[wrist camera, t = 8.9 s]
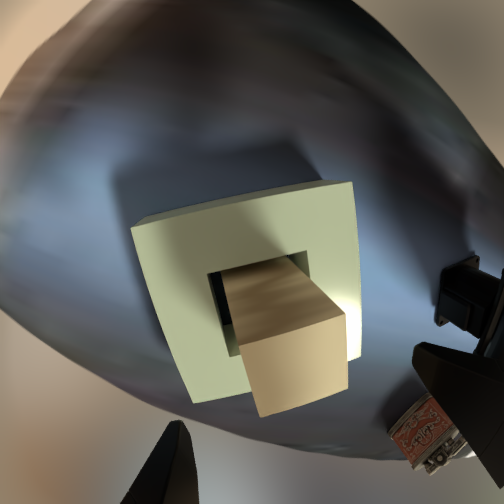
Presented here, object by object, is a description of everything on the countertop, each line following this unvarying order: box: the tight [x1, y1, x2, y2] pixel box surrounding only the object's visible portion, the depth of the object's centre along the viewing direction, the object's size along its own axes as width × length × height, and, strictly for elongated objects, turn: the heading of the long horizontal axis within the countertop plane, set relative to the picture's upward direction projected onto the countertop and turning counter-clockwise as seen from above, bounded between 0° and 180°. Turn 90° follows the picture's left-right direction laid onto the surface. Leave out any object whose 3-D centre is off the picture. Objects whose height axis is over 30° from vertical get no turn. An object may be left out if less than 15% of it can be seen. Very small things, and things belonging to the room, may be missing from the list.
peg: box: [221, 255, 348, 417], centre depth 15 cm, size 4×4×10 cm
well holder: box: [131, 180, 361, 403], centre depth 18 cm, size 12×12×4 cm
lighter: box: [388, 393, 467, 475], centre depth 24 cm, size 8×3×10 cm, turn 144°
